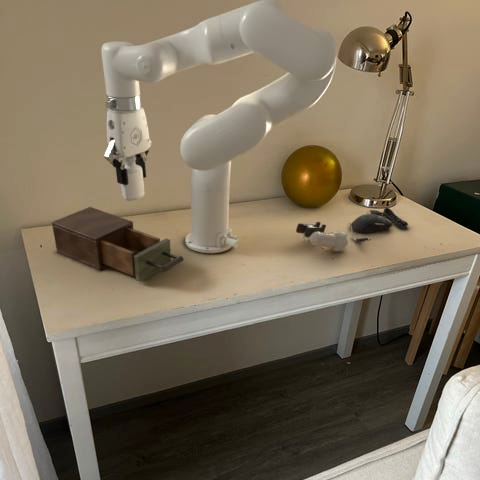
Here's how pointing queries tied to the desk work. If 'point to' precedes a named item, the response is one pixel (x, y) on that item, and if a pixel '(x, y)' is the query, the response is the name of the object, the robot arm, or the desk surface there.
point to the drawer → (137, 253)
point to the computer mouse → (376, 221)
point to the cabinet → (86, 234)
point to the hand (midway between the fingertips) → (132, 179)
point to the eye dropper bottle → (133, 181)
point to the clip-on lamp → (326, 236)
